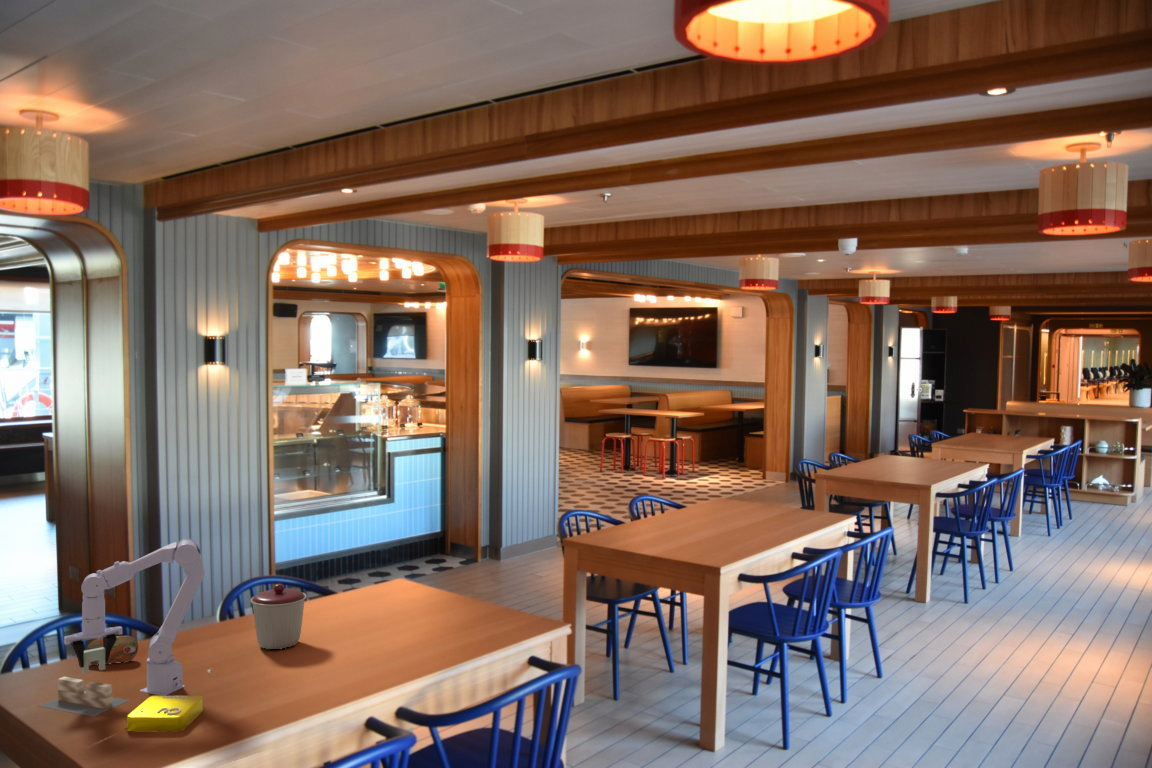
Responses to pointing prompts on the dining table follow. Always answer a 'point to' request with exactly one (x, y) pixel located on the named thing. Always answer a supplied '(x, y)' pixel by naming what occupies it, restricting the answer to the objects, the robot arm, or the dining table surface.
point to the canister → (278, 616)
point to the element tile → (165, 713)
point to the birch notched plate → (85, 692)
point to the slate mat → (81, 707)
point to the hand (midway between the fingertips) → (93, 664)
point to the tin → (117, 649)
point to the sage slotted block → (94, 658)
